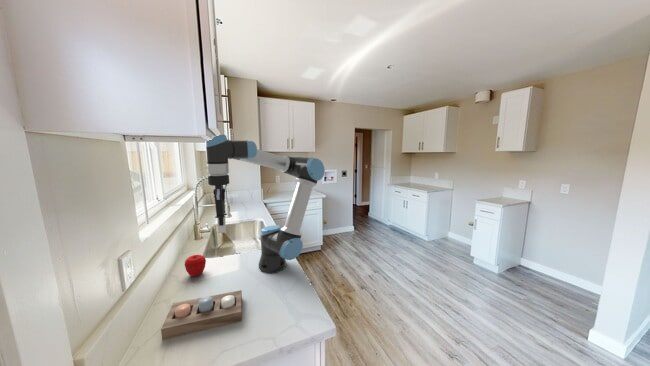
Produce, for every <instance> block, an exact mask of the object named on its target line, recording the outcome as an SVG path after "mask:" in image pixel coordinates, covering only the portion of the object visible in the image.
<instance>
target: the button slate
mask: <svg viewBox="0 0 650 366" xmlns="http://www.w3.org/2000/svg"><path fill="white" fill-rule="evenodd" d="M211 296H212V295H209V296H207V295H206V296H203V297H200V298H201V299H200V300H199V302H198V305H199V314H200V313H205V312H209V311H214V309H213V298H212V297H211Z"/></svg>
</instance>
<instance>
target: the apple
mask: <svg viewBox="0 0 650 366" xmlns="http://www.w3.org/2000/svg"><path fill="white" fill-rule="evenodd" d="M206 263H207V259H206V257H205V256H204V255H202V254H194V255H190V256H188V257H187V258H186V259H185V261H184V268H185V270H186V272H187V274H188V275H189V276H191V277H194V278H195V277H198V276H200V275H201V274H202V273H203V272H205V271H204V270H205V268H206Z"/></svg>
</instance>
